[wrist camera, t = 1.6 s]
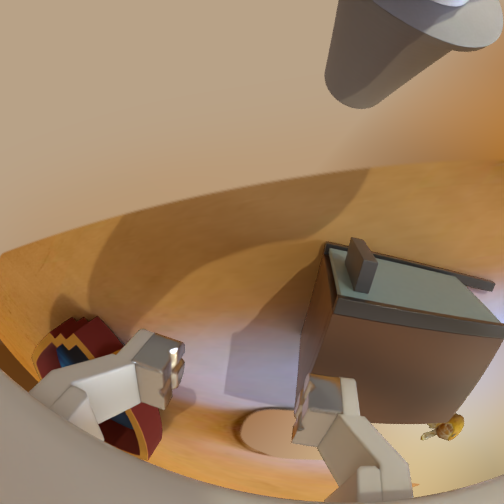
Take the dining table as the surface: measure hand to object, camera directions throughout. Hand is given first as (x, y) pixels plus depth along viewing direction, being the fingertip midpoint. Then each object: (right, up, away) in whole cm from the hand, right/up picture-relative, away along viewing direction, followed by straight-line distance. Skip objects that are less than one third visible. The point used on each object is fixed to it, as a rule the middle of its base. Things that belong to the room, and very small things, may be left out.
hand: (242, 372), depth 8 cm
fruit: (+35, -27, +27) cm, 52 cm away
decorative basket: (-28, -22, +38) cm, 52 cm away
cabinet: (+19, -3, +22) cm, 29 cm away
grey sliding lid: (+16, +3, +19) cm, 26 cm away
